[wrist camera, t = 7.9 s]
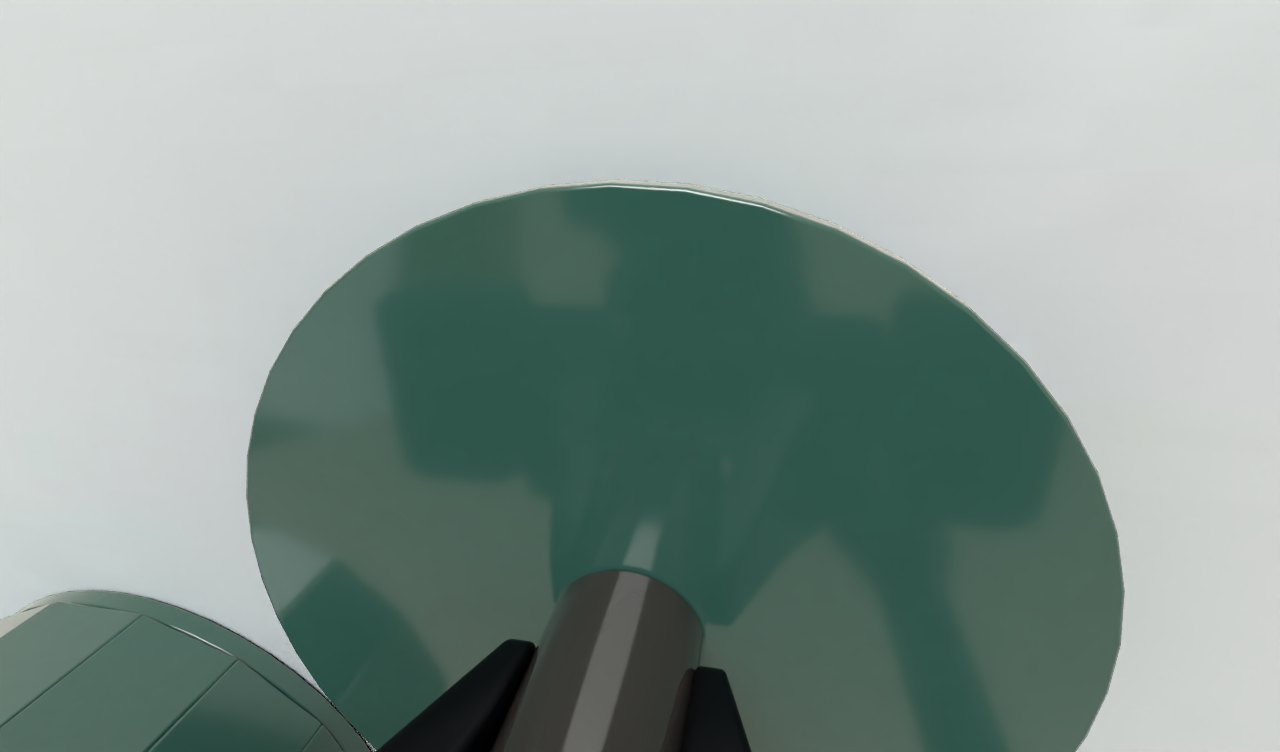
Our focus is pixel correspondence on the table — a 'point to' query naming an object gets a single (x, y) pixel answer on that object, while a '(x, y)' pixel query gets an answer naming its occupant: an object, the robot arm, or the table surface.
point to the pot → (150, 684)
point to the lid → (680, 486)
